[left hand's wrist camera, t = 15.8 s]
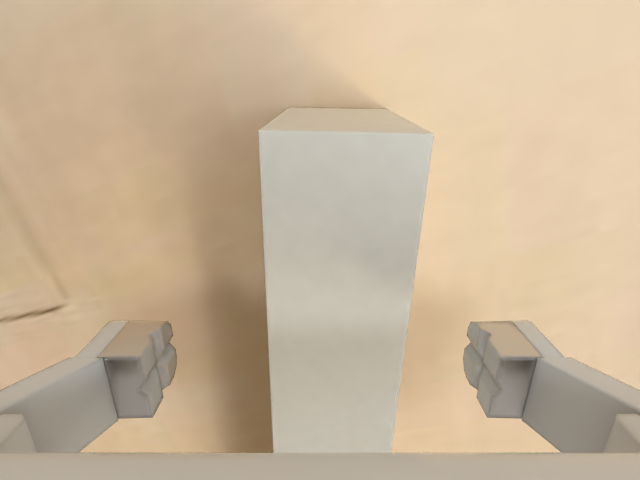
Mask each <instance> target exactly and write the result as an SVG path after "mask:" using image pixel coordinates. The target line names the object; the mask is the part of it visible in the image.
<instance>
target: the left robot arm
mask: <svg viewBox="0 0 640 480" xmlns="http://www.w3.org/2000/svg"><path fill="white" fill-rule="evenodd" d="M172 336H173V332H172V327H171V324H170V323H169V322H168V321H129V320H128V321H111V322H108V323H107V324H106V325H105V326H104V328H103V329H102V330H101V331H100V332H99V333H98V334H97V335H96V336H95V337H94V338H93V339H92V340H91V341H90V342H89V343H88V344H87V345H86V347H85V348H84V349H83V350H82V351H81V352H80V353H79V354H78V355H77V356H76V357H75V358H67V359H65V360H63V361H61V362H59V363H57V364H55V365H53V366H50V367H48V368H46V369H44V370H42V371H40V372H38V373H36V374H34V375H31V376H29V377H27V378H25V379H23V380H21V381H19V382H17V383H15V384H12V385H10V386H8V387H6V388H4V389H2V390H0V480H640V390H638V389H636V388H634V387H632V386H629V385H627V384H625V383H623V382H621V381H619V380H617V379H615V378H613V377H611V376H608V375H606V374H604V373H602V372H600V371H598V370H596V369H594V368H592V367H590V366H587V365H585V364H583V363H581V362H579V361H577V360H575V359H573V358H565V357H564V356H563V355H562V354H561V353H560V352H559V351H558V350H557V349H556V348H555V347H554V345H553V344H552V343H551V342H550V341H549V340H548V339H547V338H546V337H545V336H544V335H543V334H542V333H541V332H540V331H539V330H538V329H537V327H536V326H535V325H534V324H533V323H532V322H530V321H527V320H521V321H494V322H471V323H470V325H469V327H468V332H467V336H468V338H469V339H470V341H471V343H470V344H469V345H468V346H467V347H466V348H465V349H464V357H463V362H464V371H465V374H466V377H467V379H468V381H469V383H470V385H472V386H473V387H475V388H476V389H477V390H478V392H477V399H478V401H479V403H480V405H481V406H482V408H483V410H484V412H485V414H486V416H487V418H522V421H524V422H525V423H526V424H527V425H528V426H530V427H531V428H532V429H533V430H535V431H536V432H537V433H538V434H540V435H541V436H542V437H543V438H544V439H546V440H547V441H548V442H549V443H551V444H552V445H553V446H554V447H555V448H557V449H558V450H559V451H560V452H562V453H79V452H80V451H81V450H82V449H83V448H85V447H86V446H87V445H88V444H90V443H91V442H92V441H93V440H94V439H96V438H97V437H98V436H99V435H101V434H102V433H103V432H104V431H106V430H107V429H108V428H109V427H110V426H112V425H113V424H114V423H115V422H117V421H118V418H152V417H153V416H154V414H155V412H156V410H157V408H158V406H159V405H160V403H161V401H162V399H163V392H162V390H163V389H164V388H166V387H167V386H168V385H170V383H171V381H172V379H173V377H174V374H175V370H176V365H177V356H176V349H175V348H174V347H173V346H172V345H171V344H170V343H169V341H170V339H171V338H172Z"/></svg>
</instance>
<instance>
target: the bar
mask: <svg viewBox="0 0 640 480" xmlns="http://www.w3.org/2000/svg"><path fill="white" fill-rule="evenodd" d="M258 140H259V162H260V183H261V204H262V225H263V246H264V268H265V289H266V310H267V331H268V352H269V374H270V395H271V416H272V437H273V453H391V449H392V441H393V434H394V427H395V419H396V412H397V404H398V397H399V389H400V382H401V374H402V367H403V360H404V352H405V345H406V337H407V330H408V322H409V315H410V307H411V300H412V293H413V285H414V278H415V270H416V263H417V255H418V248H419V240H420V233H421V225H422V218H423V211H424V203H425V196H426V188H427V181H428V173H429V166H430V158H431V151H432V144H433V134H432V133H431V132H429V131H427V130H425V129H423V128H421V127H420V126H418V125H416V124H414V123H412V122H410V121H408V120H407V119H405V118H403V117H401V116H399V115H397V114H395V113H394V112H392V111H390V110H388V109H353V108H303V107H289V108H287V109H286V110H285V111H283V112H282V113H281V114H279V115H278V116H277V117H276V118H274V119H273V120H272V121H270V122H269V123H268V124H266V125H265V126H264V127H262V128H261V129H260V130H259V131H258Z"/></svg>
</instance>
